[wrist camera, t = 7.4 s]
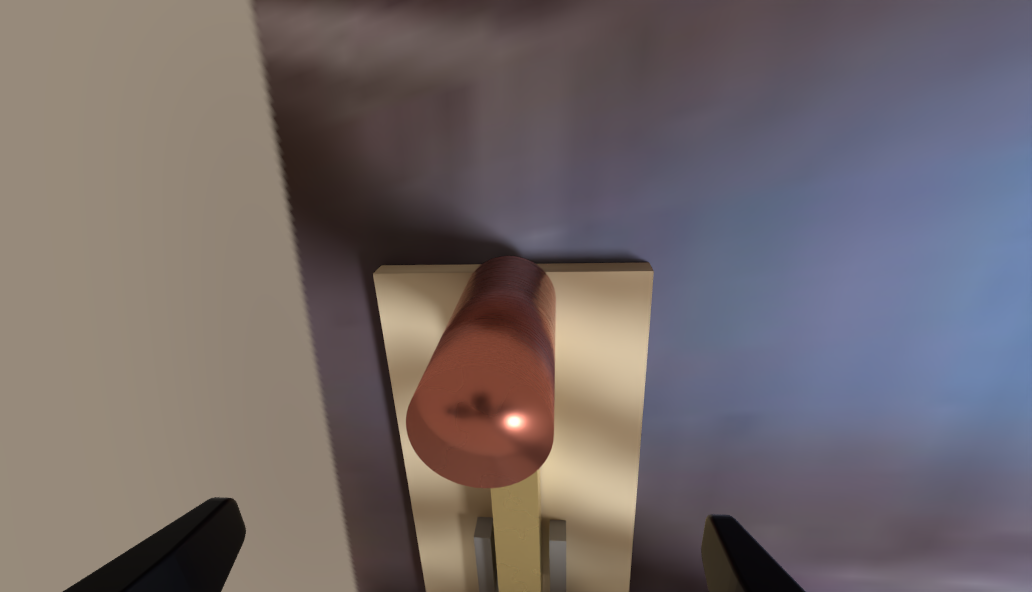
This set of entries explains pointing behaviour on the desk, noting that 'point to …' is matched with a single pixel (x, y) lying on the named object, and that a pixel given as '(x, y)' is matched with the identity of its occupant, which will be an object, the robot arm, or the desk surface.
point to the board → (577, 426)
